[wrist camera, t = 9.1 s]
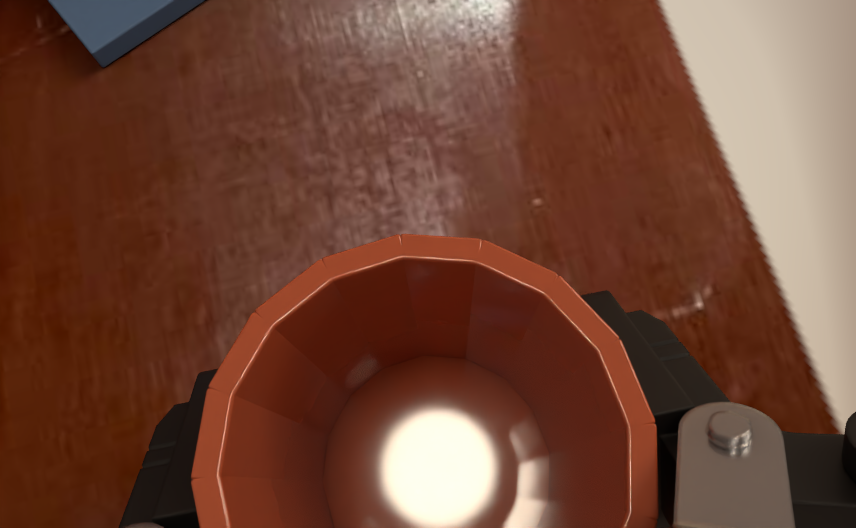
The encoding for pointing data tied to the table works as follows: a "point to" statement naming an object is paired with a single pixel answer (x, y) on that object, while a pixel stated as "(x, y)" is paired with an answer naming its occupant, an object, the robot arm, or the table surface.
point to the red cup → (426, 401)
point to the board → (118, 22)
